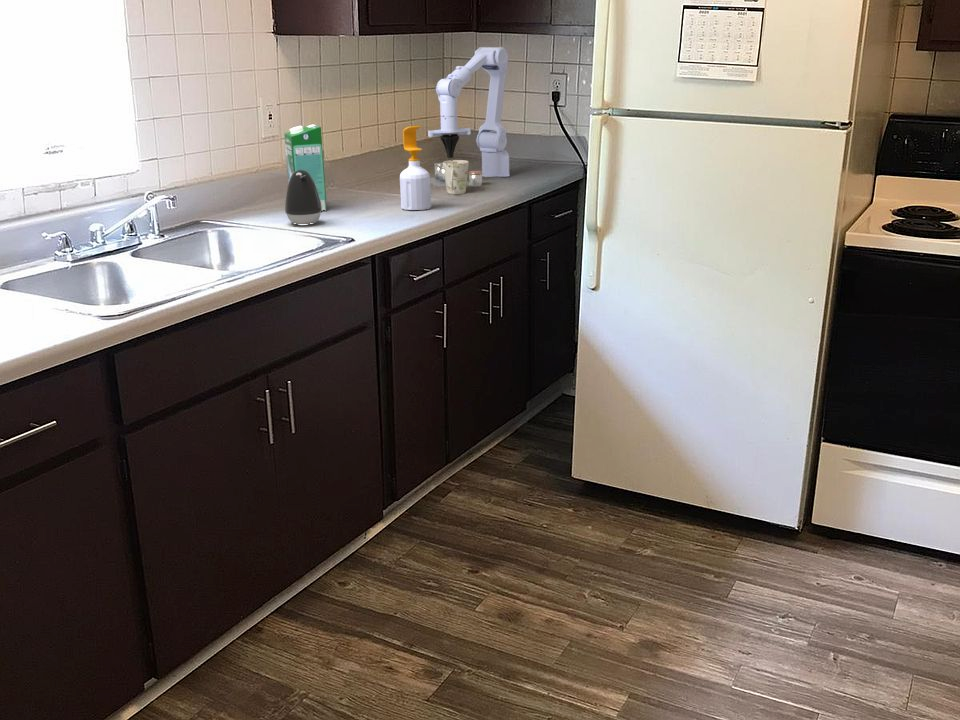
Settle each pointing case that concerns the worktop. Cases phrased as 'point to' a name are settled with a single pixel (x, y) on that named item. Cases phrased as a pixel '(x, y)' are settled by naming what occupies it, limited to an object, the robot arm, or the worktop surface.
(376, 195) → the worktop surface
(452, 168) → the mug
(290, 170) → the milk carton
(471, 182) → the cylinder
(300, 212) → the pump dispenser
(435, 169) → the tin left
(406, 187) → the soap bottle
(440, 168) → the tin middle
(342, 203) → the worktop surface
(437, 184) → the slate board
